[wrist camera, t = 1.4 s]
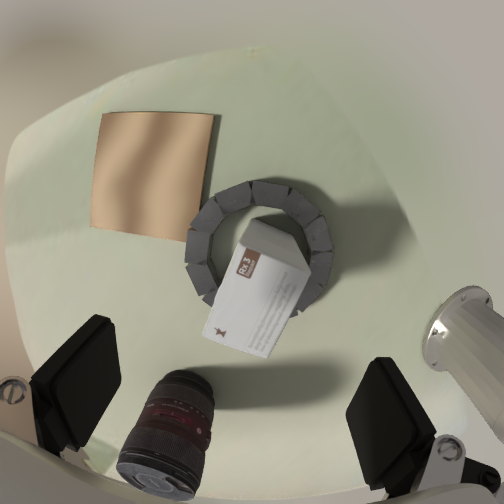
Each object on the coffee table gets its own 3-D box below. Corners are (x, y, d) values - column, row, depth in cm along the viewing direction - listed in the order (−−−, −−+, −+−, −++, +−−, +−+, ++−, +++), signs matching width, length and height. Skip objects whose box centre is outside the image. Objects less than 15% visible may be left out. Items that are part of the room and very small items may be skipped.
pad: (214, 116, 23) (213, 115, 22) (196, 242, 26) (195, 243, 25) (105, 114, 23) (102, 113, 22) (93, 225, 26) (90, 226, 25)
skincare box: (268, 289, 27) (271, 366, 15) (225, 272, 26) (198, 341, 15) (294, 231, 25) (320, 275, 14) (249, 213, 25) (236, 242, 13)
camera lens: (194, 356, 29) (156, 462, 15) (230, 401, 31) (215, 501, 16) (144, 373, 31) (97, 461, 16) (181, 414, 32) (153, 501, 18)
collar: (339, 196, 24) (345, 197, 22) (310, 322, 27) (313, 331, 26) (200, 173, 24) (194, 172, 22) (186, 302, 27) (181, 311, 26)
